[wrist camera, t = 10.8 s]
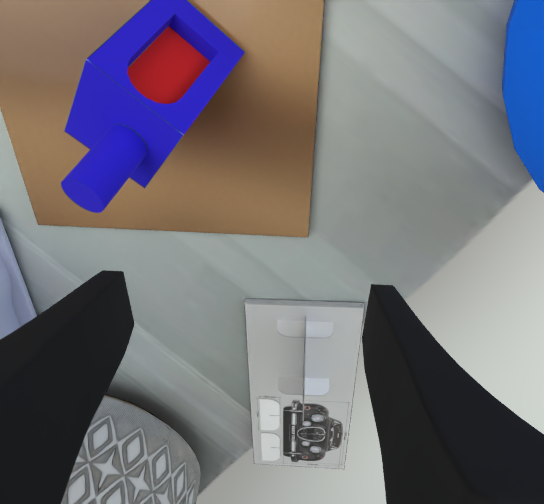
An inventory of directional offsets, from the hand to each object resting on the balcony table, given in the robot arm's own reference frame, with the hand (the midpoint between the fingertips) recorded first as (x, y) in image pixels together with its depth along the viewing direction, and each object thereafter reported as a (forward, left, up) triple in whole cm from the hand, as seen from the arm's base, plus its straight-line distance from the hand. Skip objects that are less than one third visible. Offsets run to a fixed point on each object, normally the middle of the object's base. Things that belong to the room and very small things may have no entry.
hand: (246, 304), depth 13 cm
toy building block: (+4, +4, -9) cm, 11 cm away
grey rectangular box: (-15, -2, -9) cm, 18 cm away
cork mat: (+4, +5, -9) cm, 11 cm away
